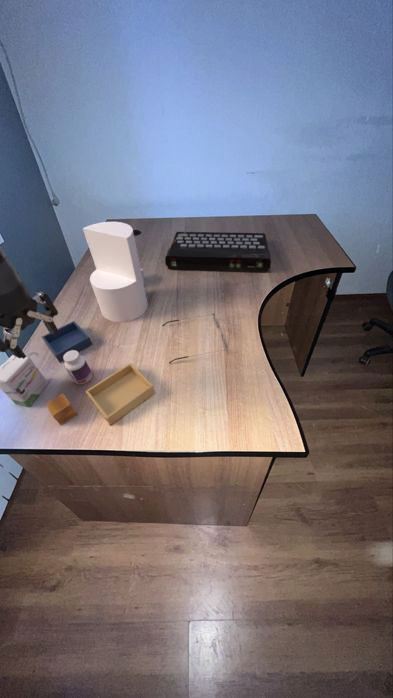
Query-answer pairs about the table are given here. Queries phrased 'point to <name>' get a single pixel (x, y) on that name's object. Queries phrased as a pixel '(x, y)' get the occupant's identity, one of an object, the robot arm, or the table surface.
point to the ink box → (21, 380)
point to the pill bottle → (77, 367)
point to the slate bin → (67, 340)
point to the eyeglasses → (216, 326)
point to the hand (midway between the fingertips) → (38, 344)
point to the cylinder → (116, 271)
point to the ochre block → (61, 409)
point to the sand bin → (120, 393)
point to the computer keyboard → (219, 252)
